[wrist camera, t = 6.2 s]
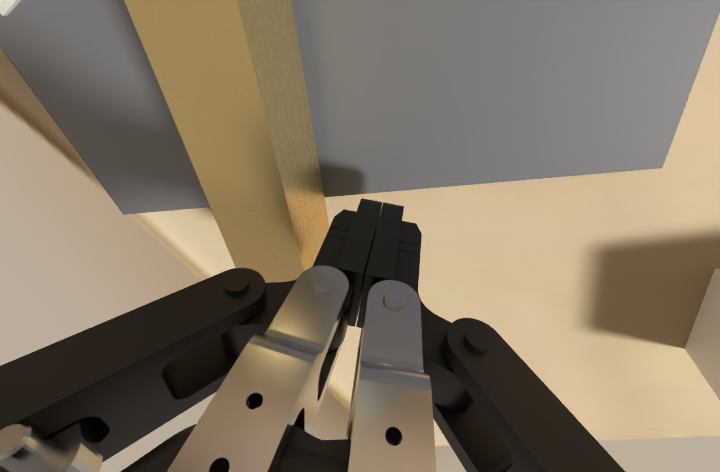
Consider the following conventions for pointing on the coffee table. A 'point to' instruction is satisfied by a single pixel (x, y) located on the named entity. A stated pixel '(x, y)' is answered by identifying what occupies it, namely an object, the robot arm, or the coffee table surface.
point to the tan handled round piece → (243, 123)
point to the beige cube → (708, 335)
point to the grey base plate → (390, 90)
